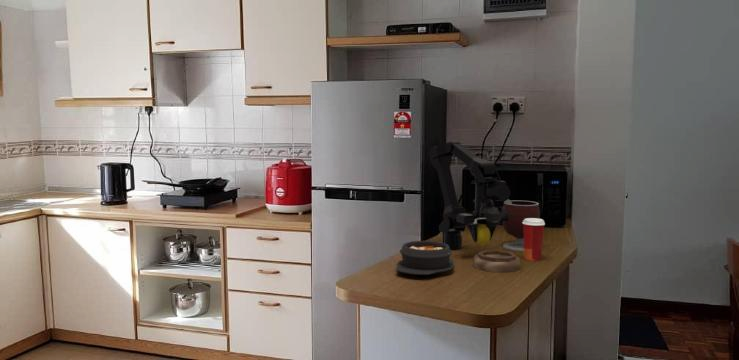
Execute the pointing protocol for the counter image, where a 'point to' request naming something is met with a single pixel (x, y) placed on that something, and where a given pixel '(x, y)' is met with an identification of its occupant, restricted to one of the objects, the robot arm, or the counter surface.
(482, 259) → the stand
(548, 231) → the counter surface
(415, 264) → the casserole
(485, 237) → the lemon
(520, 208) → the mate gourd
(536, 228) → the paper cup
